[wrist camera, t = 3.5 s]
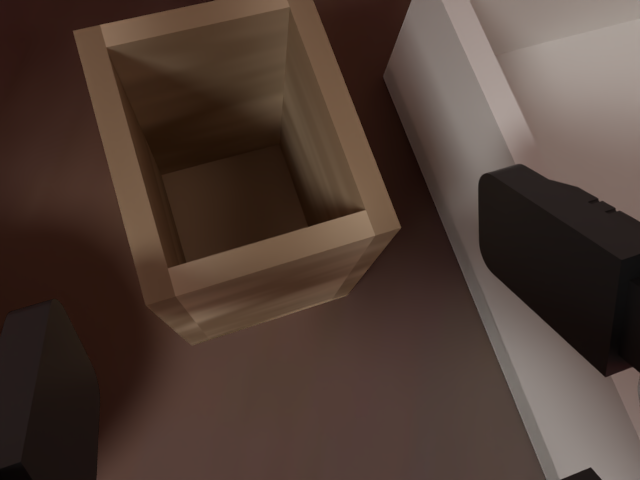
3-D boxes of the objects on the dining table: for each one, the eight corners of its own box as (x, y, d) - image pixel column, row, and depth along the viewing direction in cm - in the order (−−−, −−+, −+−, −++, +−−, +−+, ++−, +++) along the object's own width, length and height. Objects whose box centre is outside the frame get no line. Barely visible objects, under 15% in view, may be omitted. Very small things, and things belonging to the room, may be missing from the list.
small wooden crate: (192, 345, 19) (145, 305, 11) (142, 170, 20) (72, 30, 13) (346, 295, 20) (401, 227, 12) (289, 132, 21) (305, -19, 14)
